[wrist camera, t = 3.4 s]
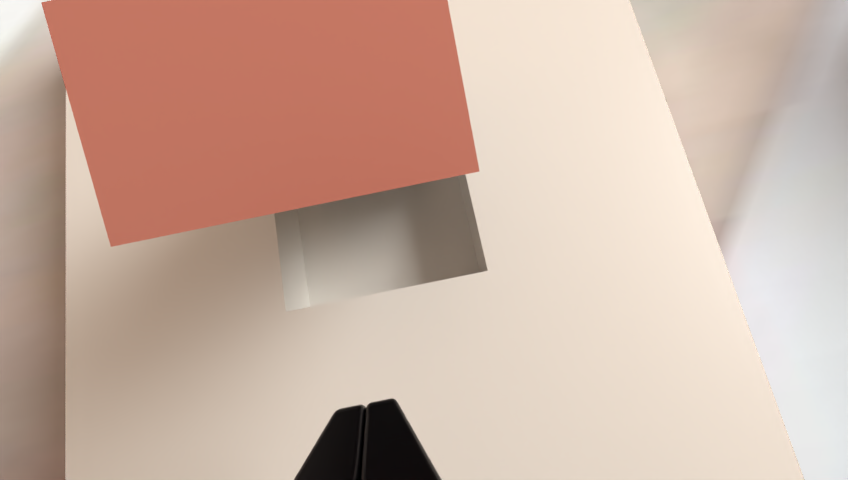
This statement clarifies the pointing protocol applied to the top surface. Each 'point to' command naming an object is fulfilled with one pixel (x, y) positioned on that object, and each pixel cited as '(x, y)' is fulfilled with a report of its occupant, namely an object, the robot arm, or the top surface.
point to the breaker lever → (257, 104)
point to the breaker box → (443, 297)
